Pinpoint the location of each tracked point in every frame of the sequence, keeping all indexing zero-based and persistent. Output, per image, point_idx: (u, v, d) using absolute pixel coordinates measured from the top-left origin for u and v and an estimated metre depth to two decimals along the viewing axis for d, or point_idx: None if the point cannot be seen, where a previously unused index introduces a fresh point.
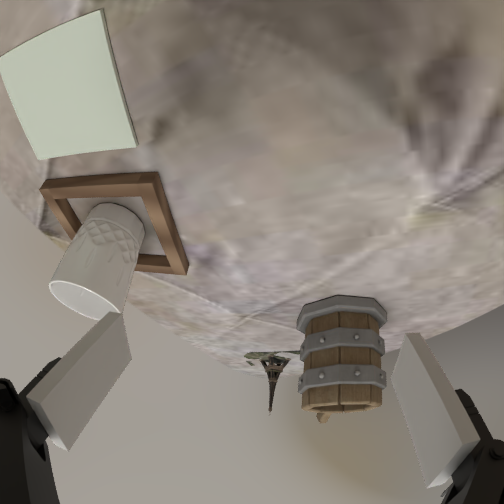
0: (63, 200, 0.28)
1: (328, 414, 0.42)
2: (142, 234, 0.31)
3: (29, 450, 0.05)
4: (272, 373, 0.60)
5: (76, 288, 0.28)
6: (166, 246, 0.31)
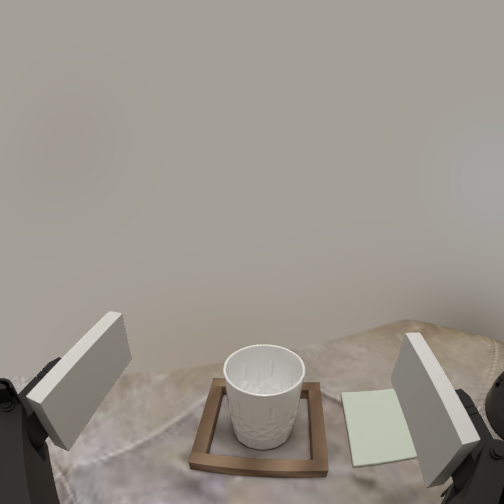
0: None
1: None
2: (254, 445, 0.28)
3: (29, 450, 0.05)
4: None
5: (250, 364, 0.32)
6: (242, 461, 0.25)
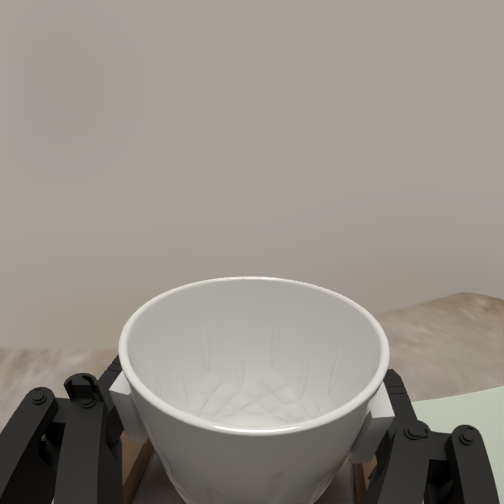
0: None
1: None
2: None
3: (104, 452, 0.06)
4: None
5: (221, 330, 0.12)
6: None
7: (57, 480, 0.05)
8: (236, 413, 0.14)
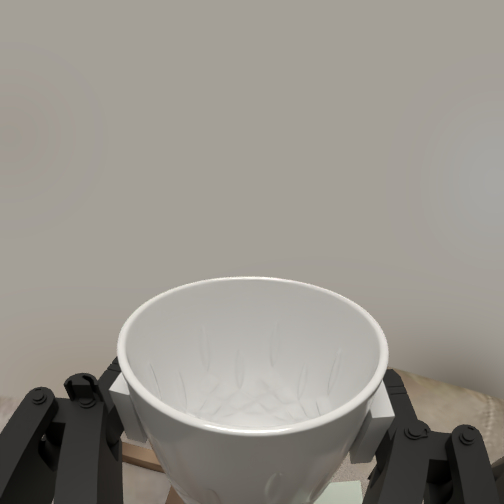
0: None
1: None
2: None
3: (104, 451, 0.06)
4: None
5: (220, 330, 0.12)
6: None
7: (57, 480, 0.05)
8: (235, 413, 0.14)
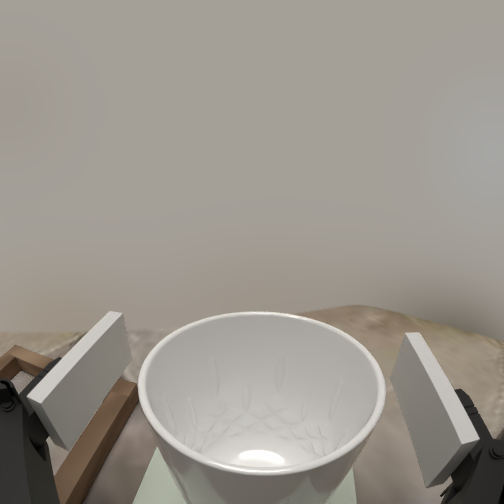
0: None
1: None
2: None
3: (30, 450, 0.05)
4: None
5: (229, 361, 0.13)
6: None
7: None
8: (242, 432, 0.14)
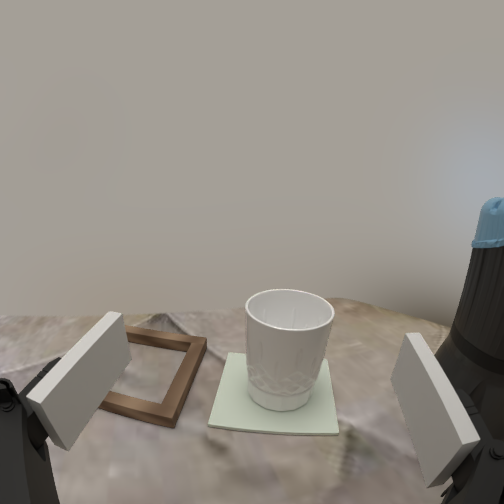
0: (182, 348, 0.35)
1: None
2: (272, 405, 0.26)
3: (29, 450, 0.05)
4: None
5: (271, 311, 0.30)
6: None
7: None
8: None
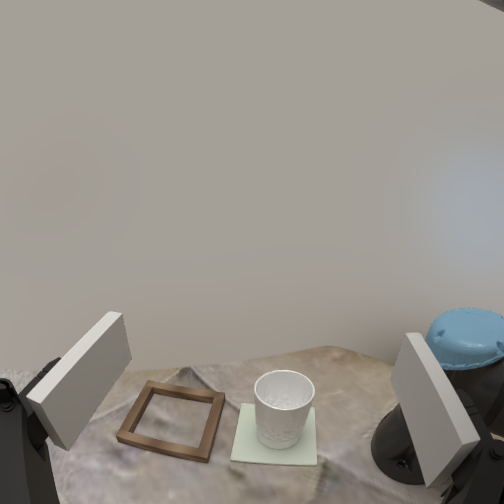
0: (207, 400, 0.46)
1: None
2: (273, 446, 0.36)
3: (29, 450, 0.05)
4: None
5: (272, 384, 0.40)
6: (150, 440, 0.35)
7: None
8: None
